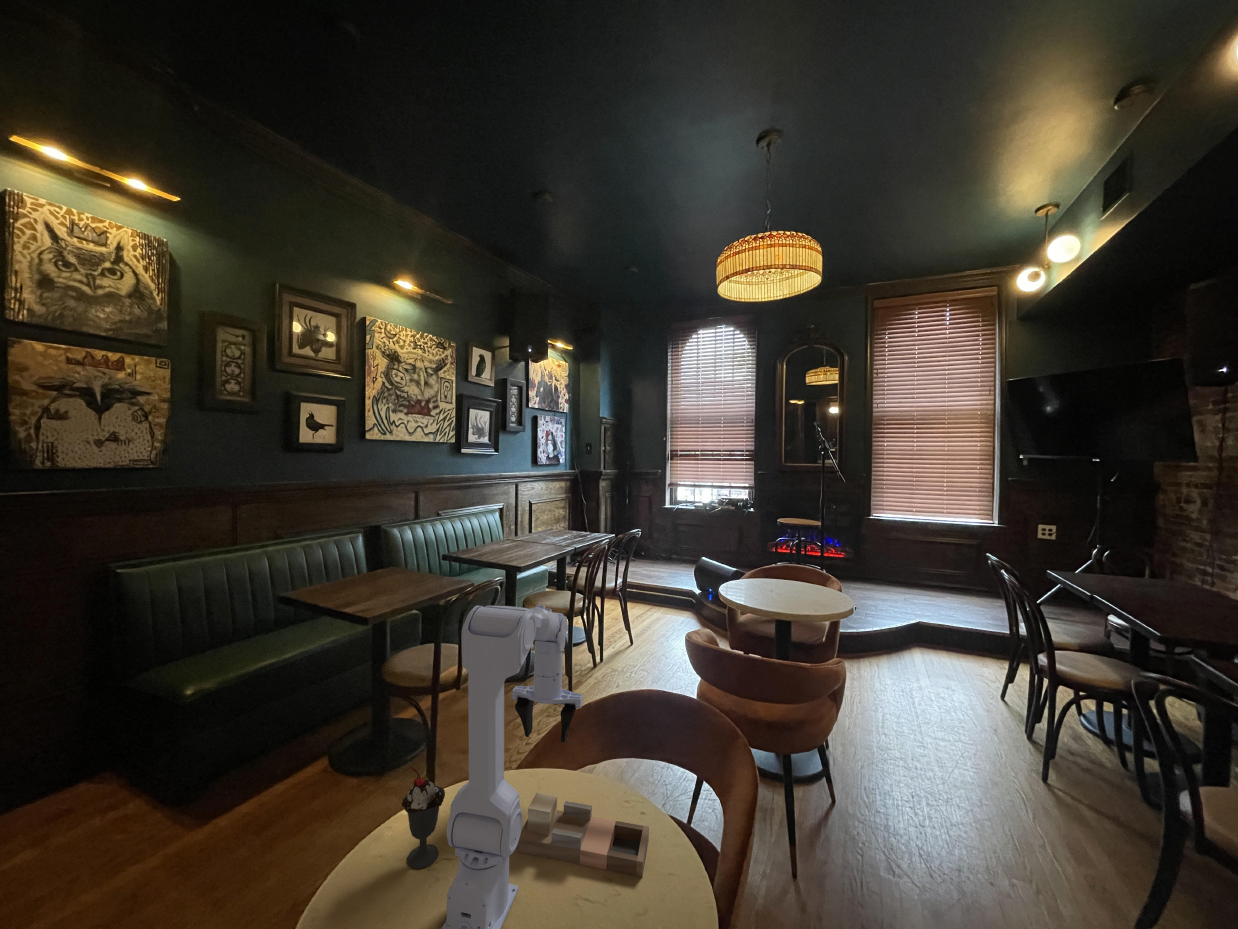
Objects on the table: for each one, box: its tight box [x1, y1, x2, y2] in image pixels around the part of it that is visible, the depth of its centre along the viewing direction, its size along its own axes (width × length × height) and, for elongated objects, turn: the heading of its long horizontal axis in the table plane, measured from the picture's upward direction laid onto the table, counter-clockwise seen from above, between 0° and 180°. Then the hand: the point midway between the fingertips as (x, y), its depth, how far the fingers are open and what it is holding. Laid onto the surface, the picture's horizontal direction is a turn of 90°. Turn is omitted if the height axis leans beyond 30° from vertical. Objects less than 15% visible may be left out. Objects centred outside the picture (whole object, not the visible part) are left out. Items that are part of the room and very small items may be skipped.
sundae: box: [401, 767, 446, 870], centre depth 81 cm, size 7×7×15 cm
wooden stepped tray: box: [517, 800, 650, 878], centre depth 85 cm, size 8×22×4 cm, turn 79°
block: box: [527, 792, 558, 835], centre depth 86 cm, size 4×4×4 cm
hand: (546, 737), depth 100 cm, fingers open, 7 cm apart
